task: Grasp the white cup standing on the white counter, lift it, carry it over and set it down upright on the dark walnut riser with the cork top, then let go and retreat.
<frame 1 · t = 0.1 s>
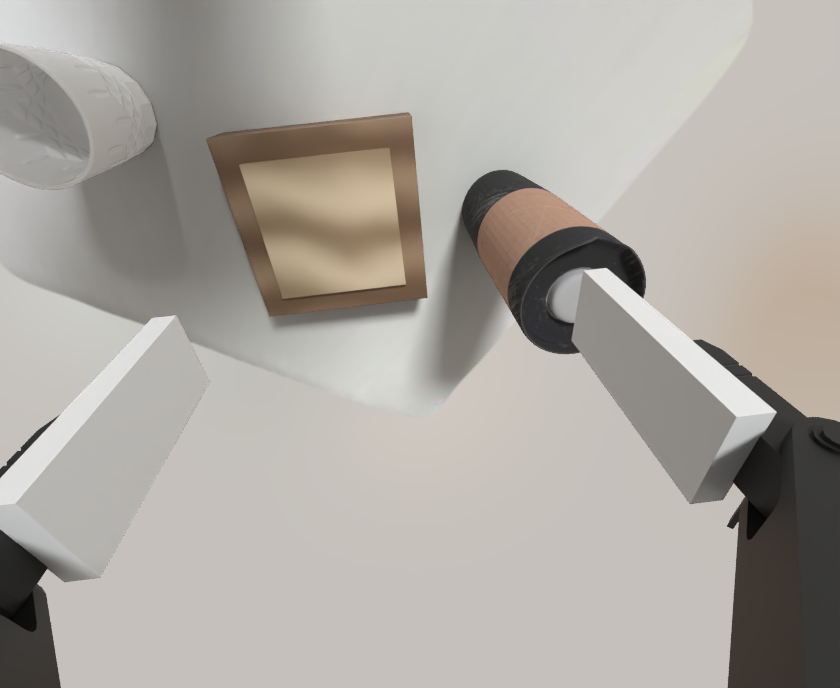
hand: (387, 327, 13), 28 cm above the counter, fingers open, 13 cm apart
travel mug: (496, 207, 39), on the counter
white cup: (113, 110, 32), on the counter
walnut riser: (335, 215, 38), on the counter
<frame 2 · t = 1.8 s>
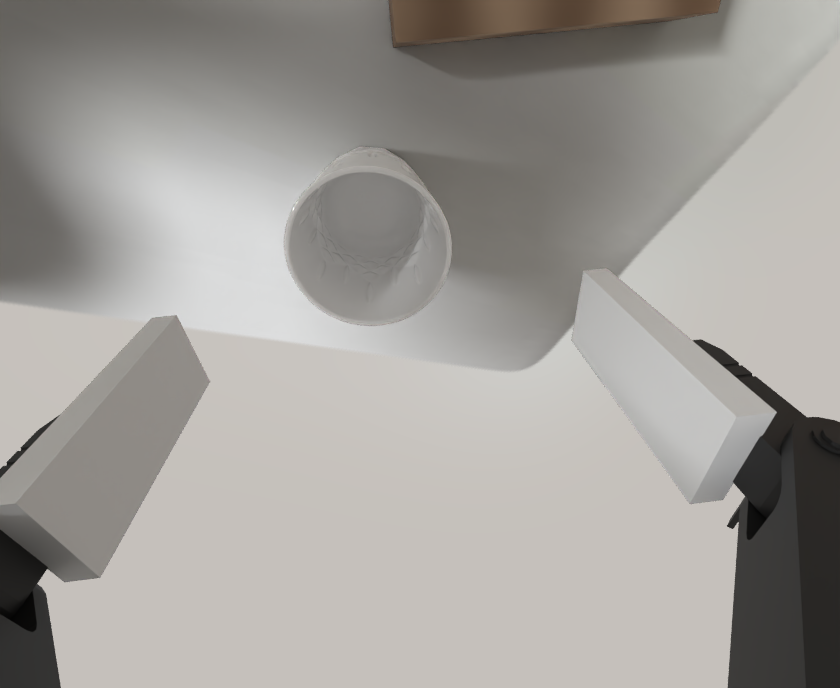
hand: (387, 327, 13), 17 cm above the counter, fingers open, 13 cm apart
white cup: (371, 199, 27), on the counter
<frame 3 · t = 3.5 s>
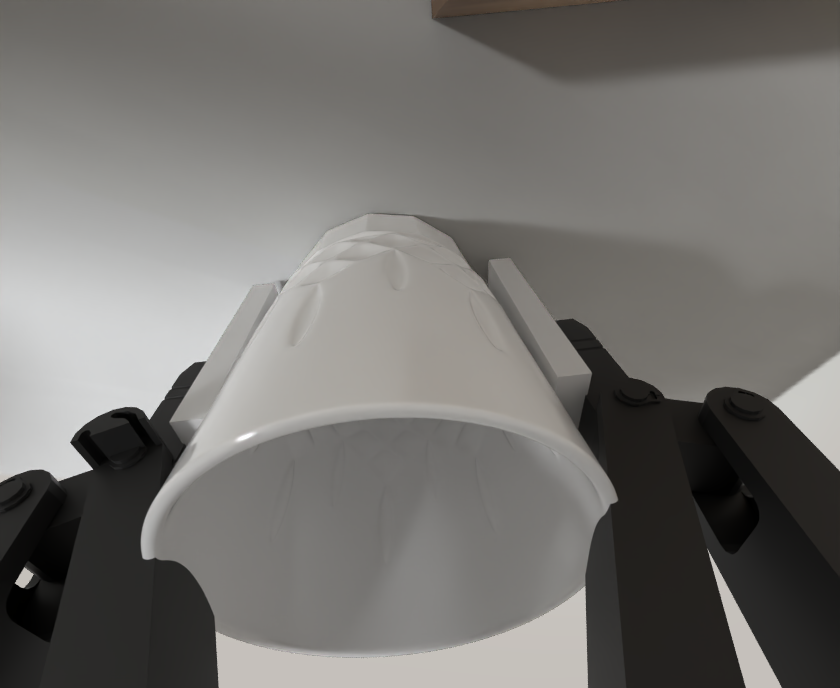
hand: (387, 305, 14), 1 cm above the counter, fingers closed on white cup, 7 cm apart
white cup: (387, 297, 15), on the counter, touching gripper
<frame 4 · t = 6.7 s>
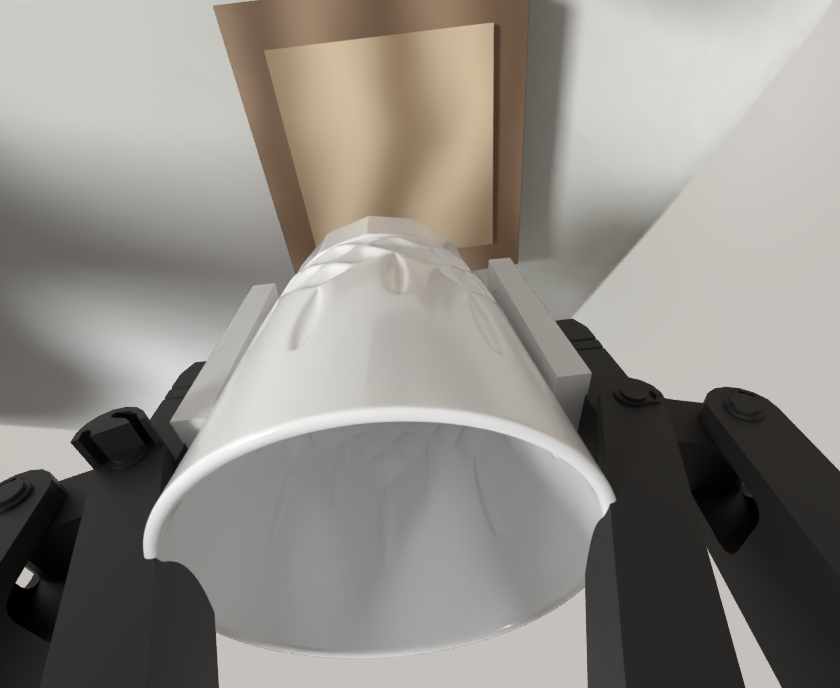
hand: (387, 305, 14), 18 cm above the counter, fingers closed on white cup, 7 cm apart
white cup: (387, 299, 15), point 17 cm above the counter, touching gripper
walnut riser: (392, 150, 27), on the counter
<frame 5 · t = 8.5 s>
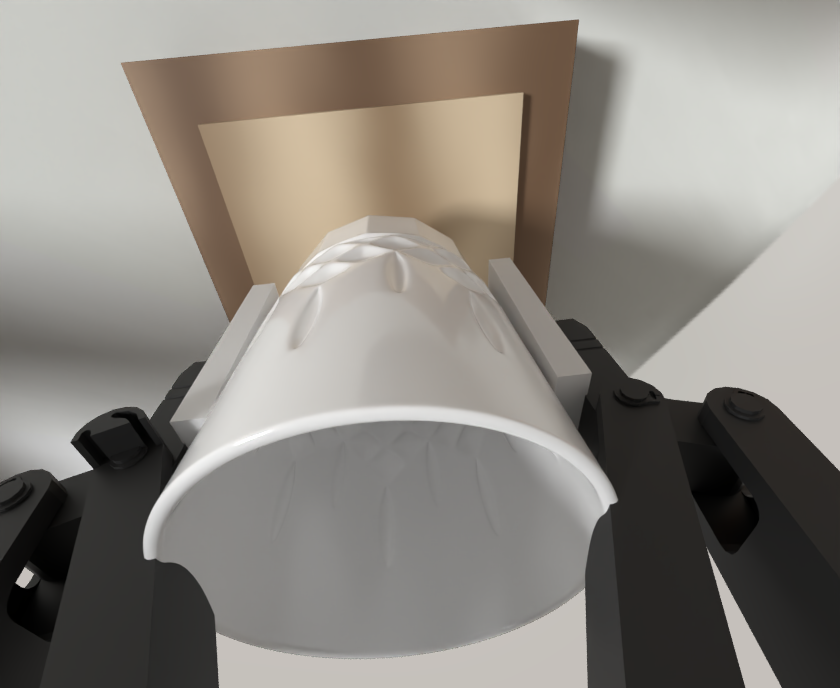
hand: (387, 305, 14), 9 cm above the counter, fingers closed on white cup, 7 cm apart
white cup: (387, 299, 15), point 8 cm above the counter, touching gripper
walnut riser: (383, 229, 21), on the counter
when the fingers open (7 cm above the counter, at t = 9.7 s): white cup drops 1 cm, resting on walnut riser.
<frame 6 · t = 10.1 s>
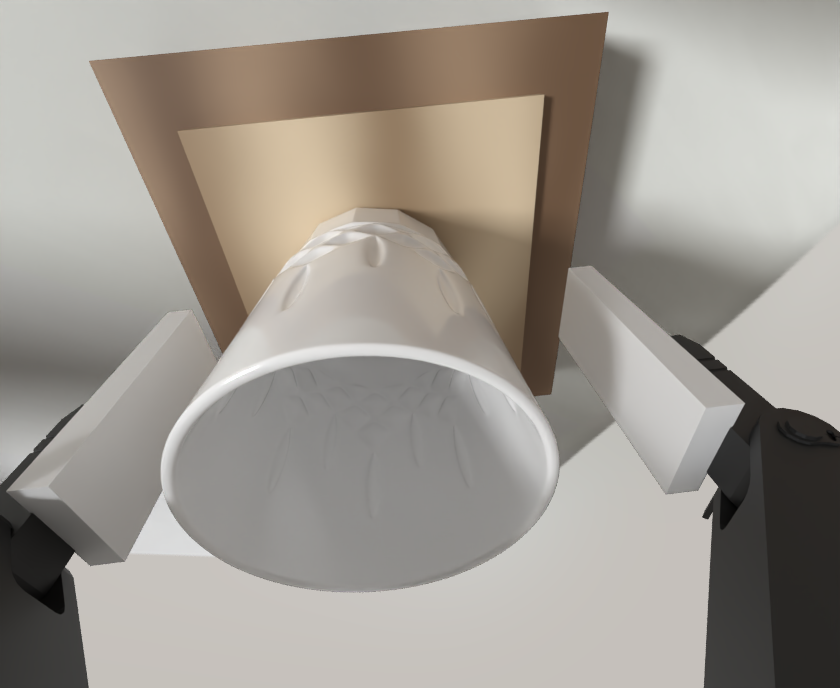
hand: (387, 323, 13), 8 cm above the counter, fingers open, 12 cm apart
white cup: (376, 285, 16), point 4 cm above the counter, touching walnut riser
walnut riser: (385, 242, 20), on the counter
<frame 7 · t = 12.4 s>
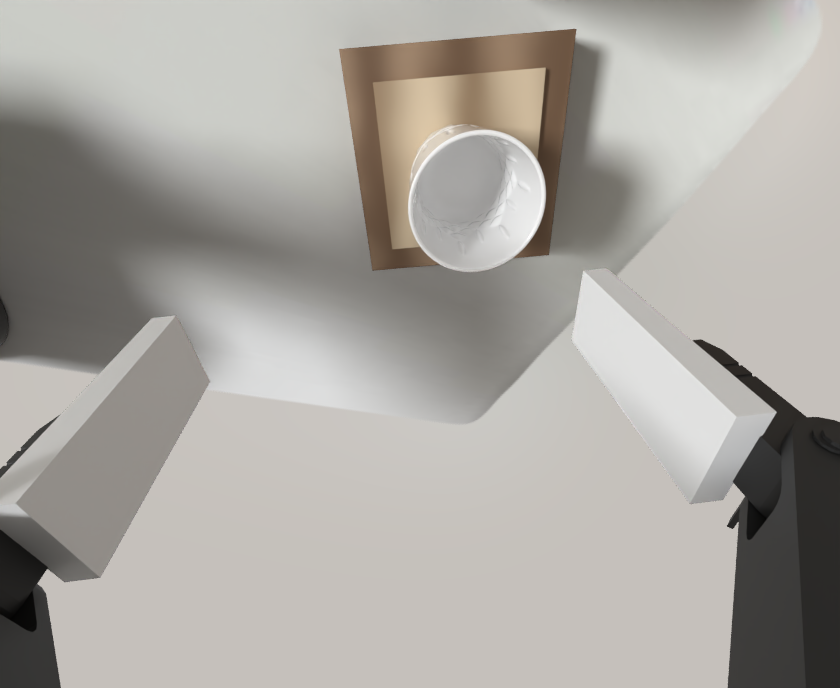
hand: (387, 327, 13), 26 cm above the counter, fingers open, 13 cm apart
white cup: (454, 172, 31), point 4 cm above the counter, touching walnut riser
walnut riser: (453, 158, 34), on the counter
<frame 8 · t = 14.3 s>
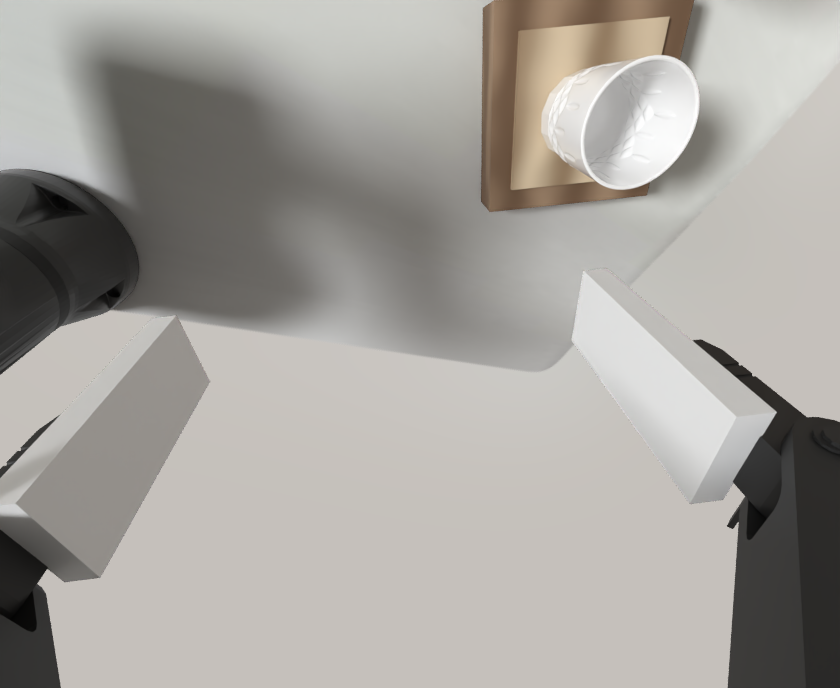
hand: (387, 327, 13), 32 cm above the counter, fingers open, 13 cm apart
white cup: (576, 115, 34), point 4 cm above the counter, touching walnut riser
walnut riser: (563, 108, 38), on the counter
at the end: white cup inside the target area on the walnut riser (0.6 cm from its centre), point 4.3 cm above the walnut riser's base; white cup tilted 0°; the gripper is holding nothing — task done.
